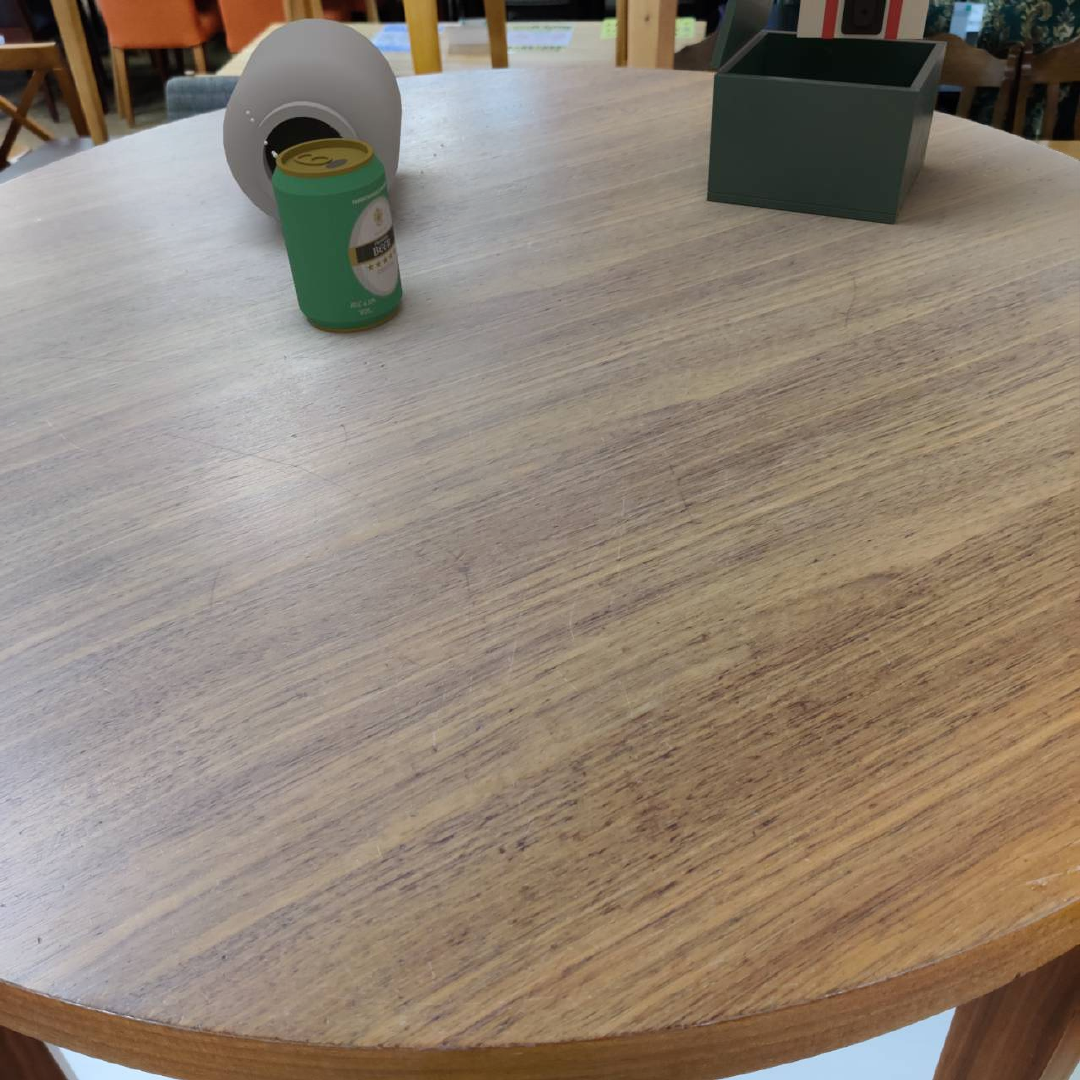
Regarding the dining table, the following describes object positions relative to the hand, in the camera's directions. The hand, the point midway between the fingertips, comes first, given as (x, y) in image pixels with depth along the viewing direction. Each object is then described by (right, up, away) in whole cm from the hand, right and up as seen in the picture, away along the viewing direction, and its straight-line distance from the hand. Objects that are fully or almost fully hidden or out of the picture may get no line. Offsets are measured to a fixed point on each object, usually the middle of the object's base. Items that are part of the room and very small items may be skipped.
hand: (860, 23), depth 85 cm
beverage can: (-41, -25, -5) cm, 49 cm away
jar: (-44, -14, +8) cm, 47 cm away
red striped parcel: (0, -1, 0) cm, 1 cm away
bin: (-1, -10, +10) cm, 14 cm away
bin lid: (-7, +7, -1) cm, 10 cm away
